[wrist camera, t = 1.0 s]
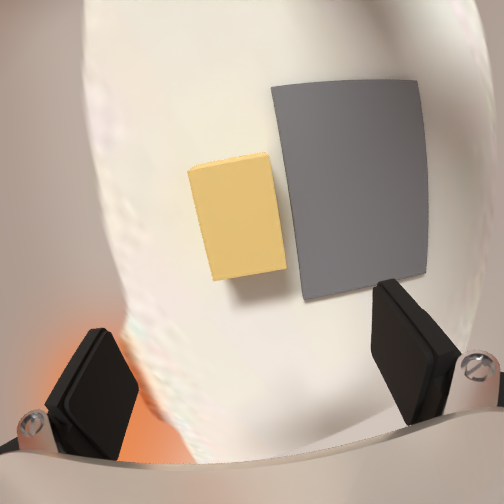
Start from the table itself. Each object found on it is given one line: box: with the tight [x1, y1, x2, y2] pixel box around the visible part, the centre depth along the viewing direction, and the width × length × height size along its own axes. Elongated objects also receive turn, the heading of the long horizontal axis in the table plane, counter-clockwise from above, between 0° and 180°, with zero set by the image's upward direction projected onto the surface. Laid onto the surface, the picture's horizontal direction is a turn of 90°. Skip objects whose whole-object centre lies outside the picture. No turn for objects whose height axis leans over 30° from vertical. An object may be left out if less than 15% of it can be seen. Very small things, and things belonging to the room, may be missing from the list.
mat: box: [271, 80, 428, 300], centre depth 26 cm, size 20×14×1 cm
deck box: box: [187, 152, 287, 281], centre depth 25 cm, size 9×6×4 cm, turn 10°
